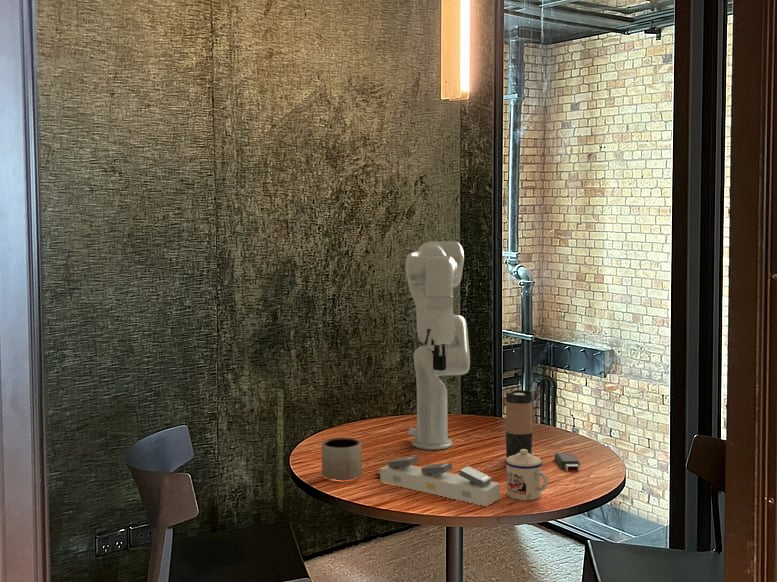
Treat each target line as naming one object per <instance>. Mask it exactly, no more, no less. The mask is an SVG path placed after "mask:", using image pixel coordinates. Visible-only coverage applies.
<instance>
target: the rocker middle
mask: <svg viewBox="0 0 777 582" xmlns="http://www.w3.org/2000/svg"><path fill="white" fill-rule="evenodd" d="M451 470H453V464H452V463H435V464H433V463H432V464H428V465H425V466H423V468H421V471H422V474H427V473H445V472H447V473H448V471H451Z"/></svg>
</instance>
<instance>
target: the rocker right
mask: <svg viewBox="0 0 777 582" xmlns="http://www.w3.org/2000/svg"><path fill="white" fill-rule="evenodd" d="M458 475H460V476H462V477H464V478H466V479H468V480H470V481H472V482H474V483H476V484H478V485H480V486H482V487H484V486H486V485H487V484H489V483H491V481H492V479H493V477H492V476H489V475H488V474H486V473H483V472H481V471H479V470H478V469H475V468H473V467H471V466H465V467H463V468H461V469H460V470H459V473H458Z"/></svg>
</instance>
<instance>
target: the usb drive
mask: <svg viewBox="0 0 777 582" xmlns="http://www.w3.org/2000/svg"><path fill="white" fill-rule="evenodd" d="M554 460H555V462H556V463H557V464H558V466H559V467H560V469H562V470H565V471H566V472H568V473H569V471H570V472H578V471H579V472H580V465H581V464H580V463H581V462H580V461H579V460H578V459H577V457H576V456H575V455H574V454H573V452H556V453H555V454H554Z"/></svg>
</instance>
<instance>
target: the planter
mask: <svg viewBox="0 0 777 582" xmlns="http://www.w3.org/2000/svg"><path fill="white" fill-rule="evenodd" d="M362 467H363V466H362V442H361V440H359V439H356V438H351V437H334V438H330V439H329V438H328V439H325V440H324V441H322V442H321V476H322V475H323V476H324V477H326V478H329V479H336V480H349V479H354V478H357V477H359V478H360V477H361V476H362V475H361V474H362V473H363V471H362ZM323 476H322V477H323Z"/></svg>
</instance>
